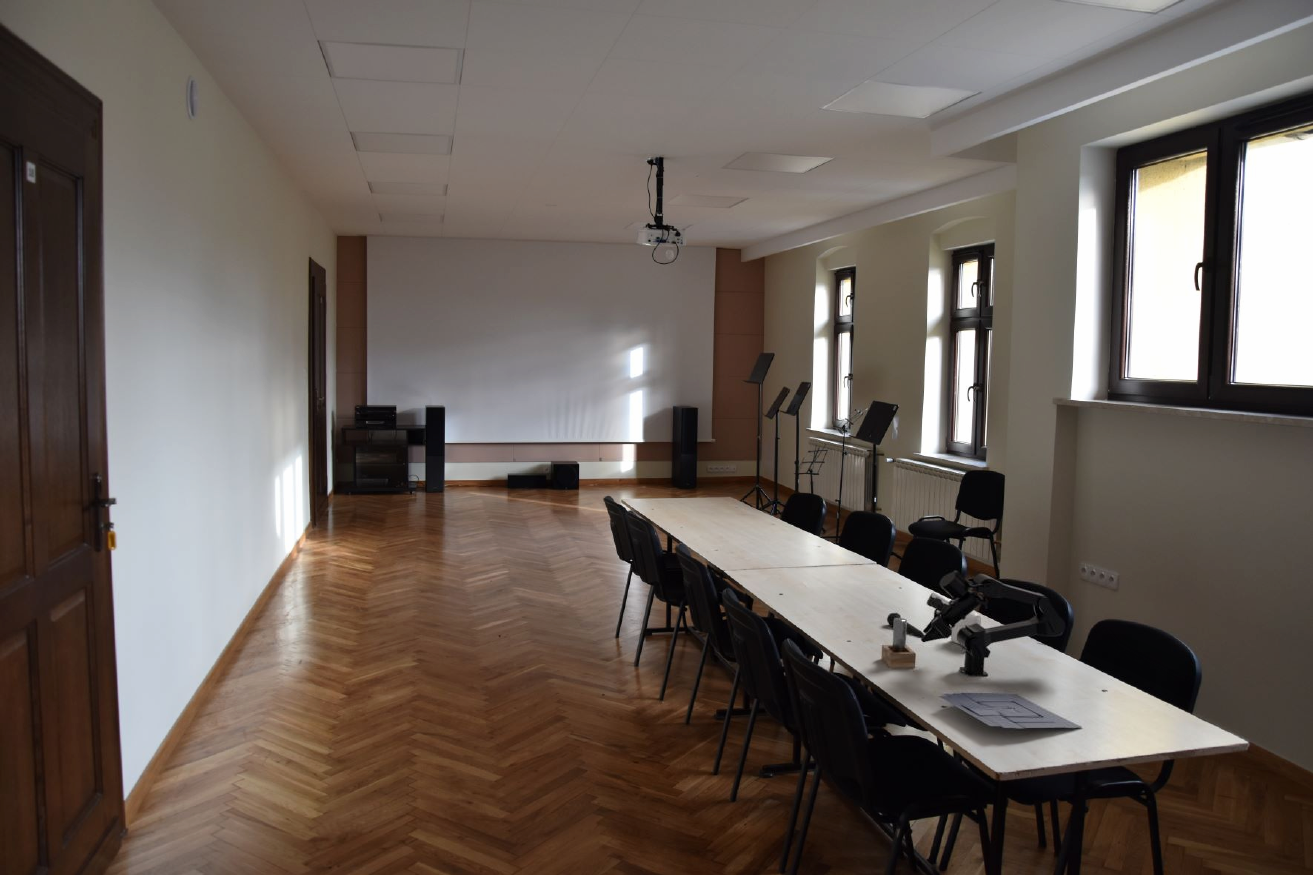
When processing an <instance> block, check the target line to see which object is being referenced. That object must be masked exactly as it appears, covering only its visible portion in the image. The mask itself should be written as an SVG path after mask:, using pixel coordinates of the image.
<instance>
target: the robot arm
mask: <svg viewBox="0 0 1313 875" xmlns="http://www.w3.org/2000/svg"><path fill="white" fill-rule="evenodd" d="M939 586H940V587H941V589H943V590H944V591H945V592H946V594H948V595H949V596H950V597H951V598H952V599H951V600H949V601H948V600H947V599H945V598H944V597H942V596H940V595H938V594H936V593H934V592H931V594H930V595H929V597H928V598H927V600H926V605H927V606H928V607H932V608H934V611H933V618H932V619H931V620H930V621H929V623H928V624H927V625H926V627H925V628H924V629H923V631H922V633H924V636H923V637H921V638H920V640H921V642H922V643H926V642H932V641H936V640H942V639H944V640H945V639H947V640H948V638H951V635H952V628H953V627H955V625H956V623H958V622H959V621H960V620H962V619H963V620H964V619H965V618H966V616H967V615H968V614H970V613H971V612H972V611H975V610H976V609H978V608H979V607H981V608H982V609H983V610H984V611H985V610H987V609H988V600H987V598H997V599H998V598H1005V599H1009V600H1011V601H1016V602H1019V603H1024V604H1027V605H1031V606H1033V611H1034V613H1035V615H1034V616H1033V617H1031V618H1030V619H1028V620H1023V621H1019V622H1014V623H1013V622H1012V623H1008V624H1004V625H1003V624H1002V625H997V626H993V627H983V626H982V625H981V626H980V625H979V624H978V623H976V624H972V625H965V627H964V628H961V629H960V630H959V632H958V633H957V641H958V642H959V643H960V644H959V645H961V648H962V650H964V651H965V652H964V664H963V666H959V670H961V671H962V672H963V673H964V674H965V675H967V676H968V677H982V676H983V677H988V676H989V673H987V672H986V671H985V670H984V669H985V658H989V657H990V655H991V650H990V649H989V648H988V647H989V646H991V644H993V643H998V642H1000V643H1001V642H1004V641H1009V640H1016V639H1021V638H1026V637H1030V636H1031V637H1032V636H1043V637H1059V636H1061V635H1063V633H1064V632H1065V630H1066V623H1065V621H1064V620H1063V618H1061V617H1060V616H1059V613H1057V611H1056V609H1055V607H1053V605H1052V603H1051V602H1050V600H1049V598H1048V596H1045V595H1044V594H1042V593H1040V592H1034V591H1030V590H1027V589H1024V588H1020V587H1016V586H1012V585H1009V584H1005V583H1003V582H1001V581H999V580H996V579H994V578H993V577H991V576H989V575H986V574H984V573H978V574H977V575H975V576H974V577H969V578H964V577H963V576H962V575H961V573H960V572H959V571H957V570H953V571H952V572H949V573H947V574H946V575H944V576H942V578H941V579H940V580H939ZM979 594H981V595H983V596H984V597H982V596H980V595H979Z"/></svg>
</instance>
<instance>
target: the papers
mask: <svg viewBox="0 0 1313 875" xmlns="http://www.w3.org/2000/svg"><path fill="white" fill-rule="evenodd" d="M937 697H938V698H940V699H942V700H944V701H946V702H947V703H948V704H950V705H953V706H954V707H956V708H958V709H960V710H962V711H963V712H965V713H967V714H969V715H970V716H972V717H974V718H975V719H976V720H979V721H980V722H982V723H984V724H986V725H988V726H989V727H1002V728H1003V729H1012V728H1013V729H1034V728H1035V729H1038V728H1039V729H1041V728H1042V729H1043V728H1044V729H1045V728H1047V729H1049V728H1050V729H1051V728H1053V729H1054V728H1065V729H1067V728H1068V729H1075V728H1082V726H1081V725H1079V724H1077V723H1074V722H1073V721H1070V720H1068V719H1066V718H1064V717H1062V716H1060V715H1058V714H1056V713H1054V712H1052V711H1050V710H1048V709H1046V708H1043V707H1042V706H1040V705H1038V704H1036V703H1035V702H1032V701H1031V700H1029V699H1027V698H1025V697H1023V696H1021V695H1019V694H1018V693H1005V692H1003V693H1001V692H957V693H956V692H953V693H944V694H943V695H937Z"/></svg>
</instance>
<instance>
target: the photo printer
mask: <svg viewBox="0 0 1313 875" xmlns="http://www.w3.org/2000/svg"><path fill="white" fill-rule="evenodd" d="M976 623H978V624H979V625H980V626H982V624H981V623H982V618H981V616H980V614H978V613H977V612H976V611H975V610H973V611H972V612H971V613H970V614H968V615H967V616H966V618H965V619H964V620H963V619H962V620H960V621H959V622H958V623H956V625H955V627H953V628H952V635H951V636H950V641H951V642H953V643H955V644H958V645H961V644H960V643H959V642H958V641H957V633H958V632H959V630H960V629H961V628H964V627H965V625H972V624H976Z"/></svg>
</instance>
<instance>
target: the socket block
mask: <svg viewBox="0 0 1313 875" xmlns="http://www.w3.org/2000/svg"><path fill="white" fill-rule="evenodd" d="M892 648H893V644H882V645H881V660H883V662H884V663H885V664H886V665H887V666H888V667H889V668H890V669H891V668H895V669H896V668H899V669H900V668H904V669H905V668H909V669H910V668H912V669H913V668H914V669H915V668H916V657H917V654H916V652H914V651H913V649H911V648H910V647H909V646H908V645H907V644H906V651H905V652H893V651H892Z"/></svg>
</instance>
